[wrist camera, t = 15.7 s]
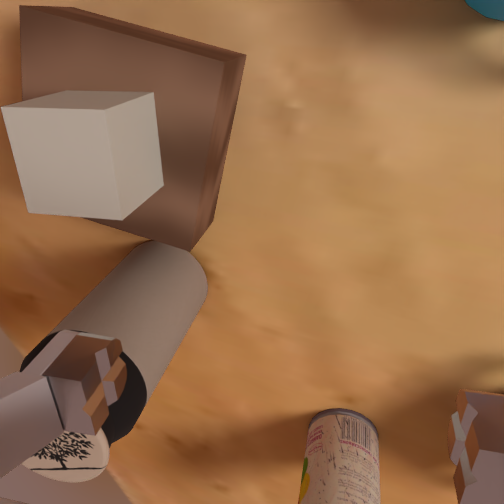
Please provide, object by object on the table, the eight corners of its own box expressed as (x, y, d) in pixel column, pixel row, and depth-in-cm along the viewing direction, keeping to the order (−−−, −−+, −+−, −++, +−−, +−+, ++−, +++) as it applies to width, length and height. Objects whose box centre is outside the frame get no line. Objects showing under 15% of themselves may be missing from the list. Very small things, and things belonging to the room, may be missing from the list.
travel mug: (115, 241, 40) (-42, 382, 25) (198, 236, 38) (84, 388, 23) (139, 315, 44) (13, 480, 28) (216, 314, 42) (127, 493, 26)
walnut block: (75, 7, 32) (19, 5, 27) (247, 54, 31) (224, 62, 26) (71, 175, 39) (25, 199, 33) (214, 219, 38) (190, 251, 32)
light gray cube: (66, 90, 29) (0, 106, 24) (153, 92, 28) (104, 109, 22) (83, 180, 32) (28, 212, 26) (163, 185, 30) (122, 220, 25)
